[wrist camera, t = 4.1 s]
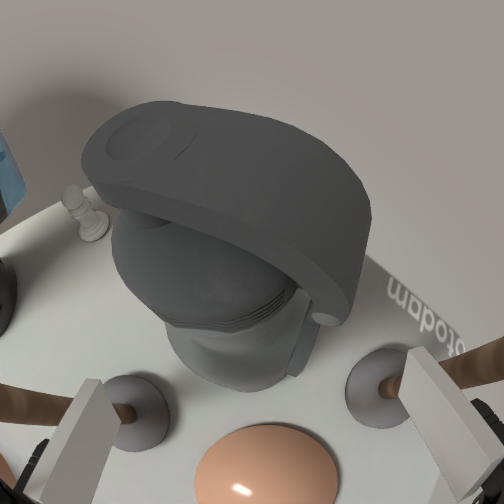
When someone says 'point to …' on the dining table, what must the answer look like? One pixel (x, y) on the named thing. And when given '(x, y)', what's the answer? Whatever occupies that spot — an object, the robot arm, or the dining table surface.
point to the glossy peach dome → (266, 469)
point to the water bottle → (231, 234)
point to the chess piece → (84, 214)
